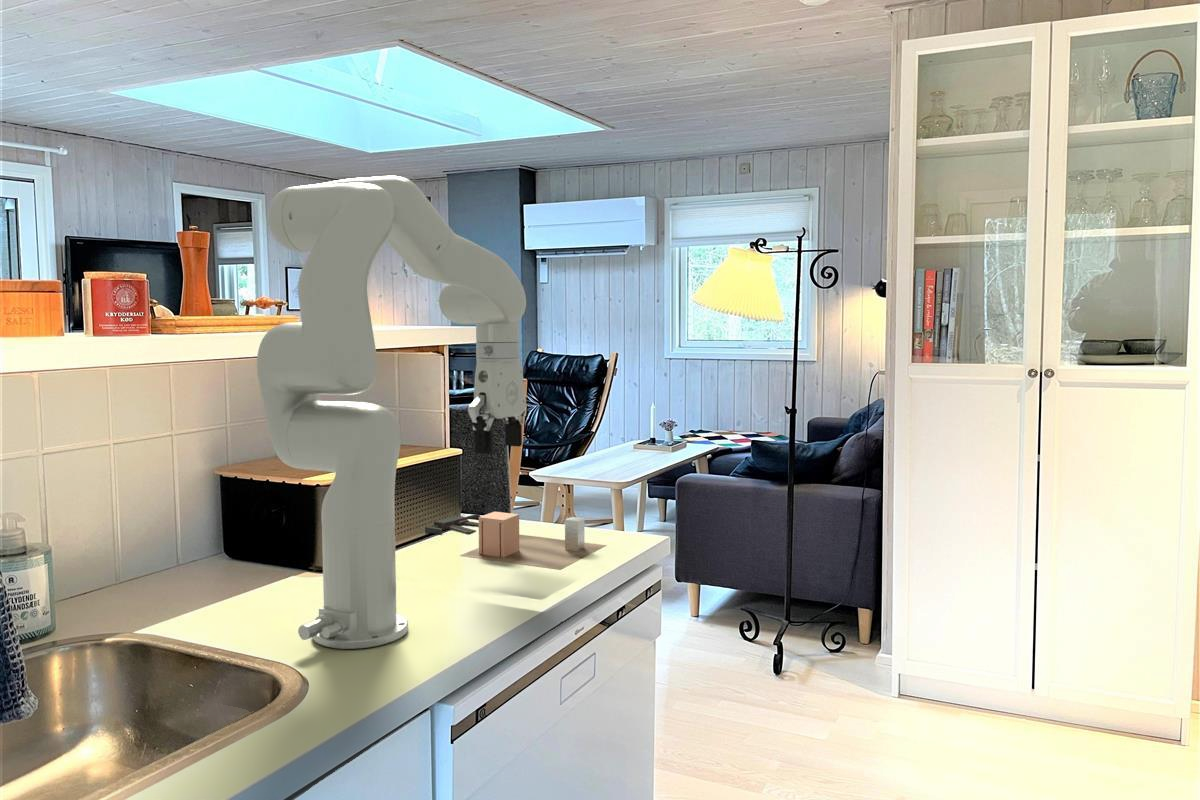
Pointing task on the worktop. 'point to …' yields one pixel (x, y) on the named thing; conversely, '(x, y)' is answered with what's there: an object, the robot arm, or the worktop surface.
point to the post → (574, 534)
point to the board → (541, 553)
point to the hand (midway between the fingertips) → (499, 449)
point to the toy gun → (453, 525)
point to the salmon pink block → (498, 534)
